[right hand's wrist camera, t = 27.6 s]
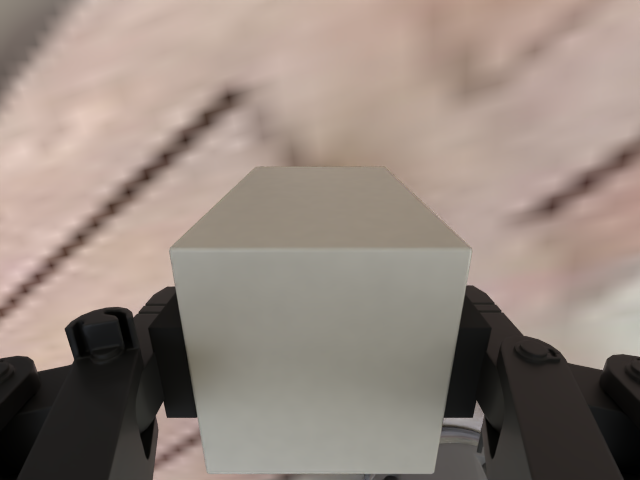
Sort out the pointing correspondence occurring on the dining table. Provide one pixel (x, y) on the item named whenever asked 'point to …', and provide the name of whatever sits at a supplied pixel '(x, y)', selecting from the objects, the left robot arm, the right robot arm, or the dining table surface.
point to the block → (320, 323)
